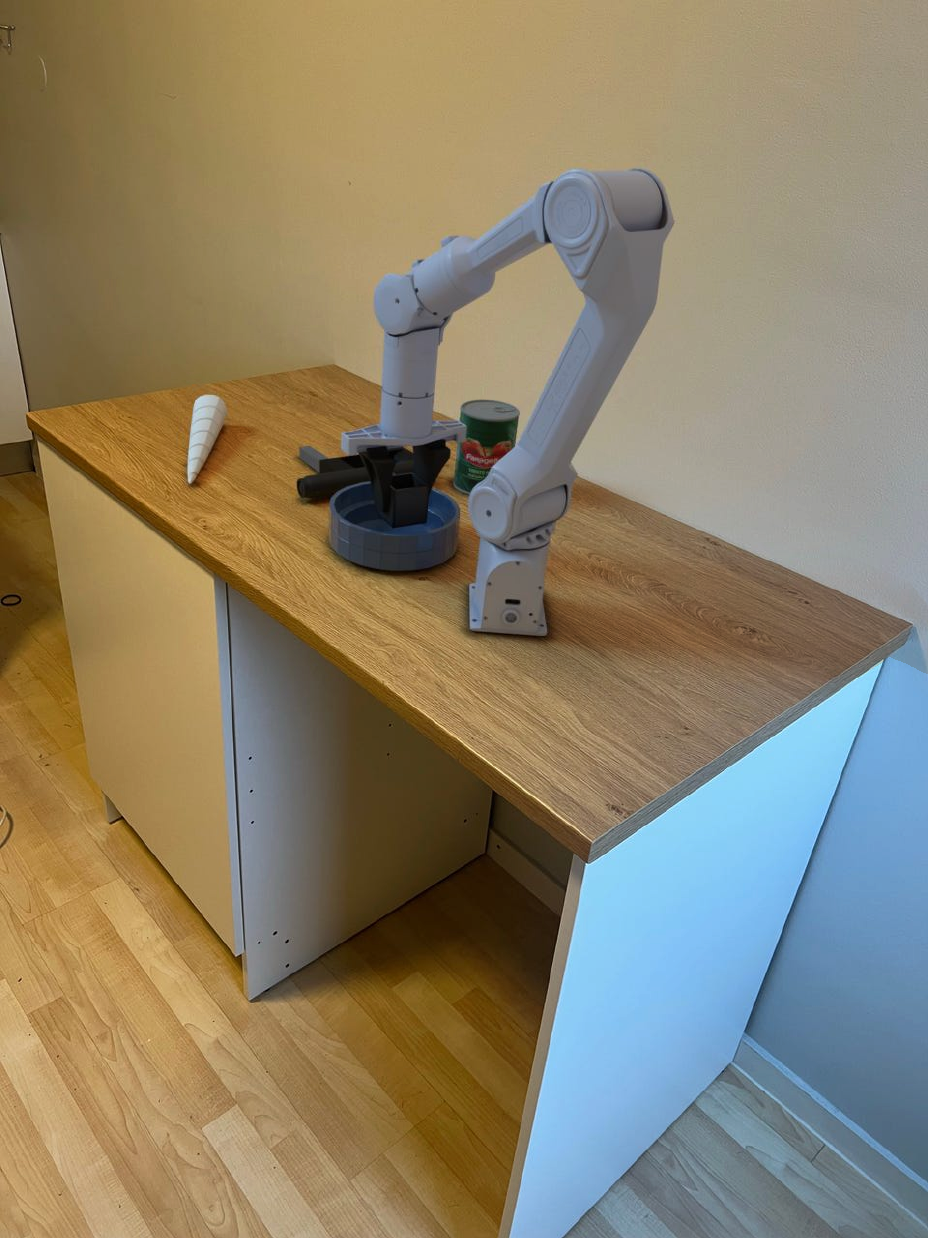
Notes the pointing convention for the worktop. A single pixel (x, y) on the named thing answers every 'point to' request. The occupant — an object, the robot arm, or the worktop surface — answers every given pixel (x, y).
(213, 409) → the unicorn horn
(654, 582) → the worktop surface
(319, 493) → the door handle
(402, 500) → the scoop
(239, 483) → the worktop surface
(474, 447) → the canned tomato
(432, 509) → the bowl
